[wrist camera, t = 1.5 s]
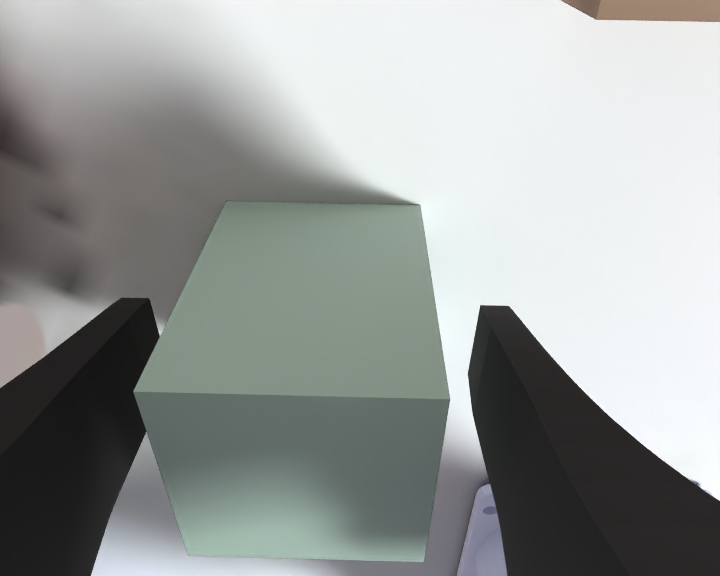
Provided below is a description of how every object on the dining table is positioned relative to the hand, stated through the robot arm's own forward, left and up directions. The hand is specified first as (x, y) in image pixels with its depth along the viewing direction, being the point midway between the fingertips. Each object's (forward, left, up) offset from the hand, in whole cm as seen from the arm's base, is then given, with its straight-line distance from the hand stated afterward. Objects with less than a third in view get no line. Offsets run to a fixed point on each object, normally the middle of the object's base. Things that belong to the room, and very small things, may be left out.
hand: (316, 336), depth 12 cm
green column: (0, 0, -2) cm, 2 cm away
